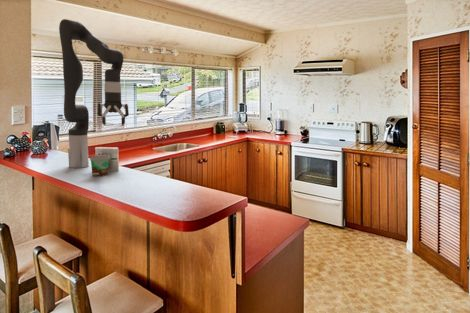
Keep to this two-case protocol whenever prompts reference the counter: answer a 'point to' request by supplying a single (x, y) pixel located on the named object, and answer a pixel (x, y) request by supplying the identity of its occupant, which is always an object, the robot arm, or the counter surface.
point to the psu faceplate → (114, 158)
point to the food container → (100, 164)
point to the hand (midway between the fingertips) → (113, 124)
